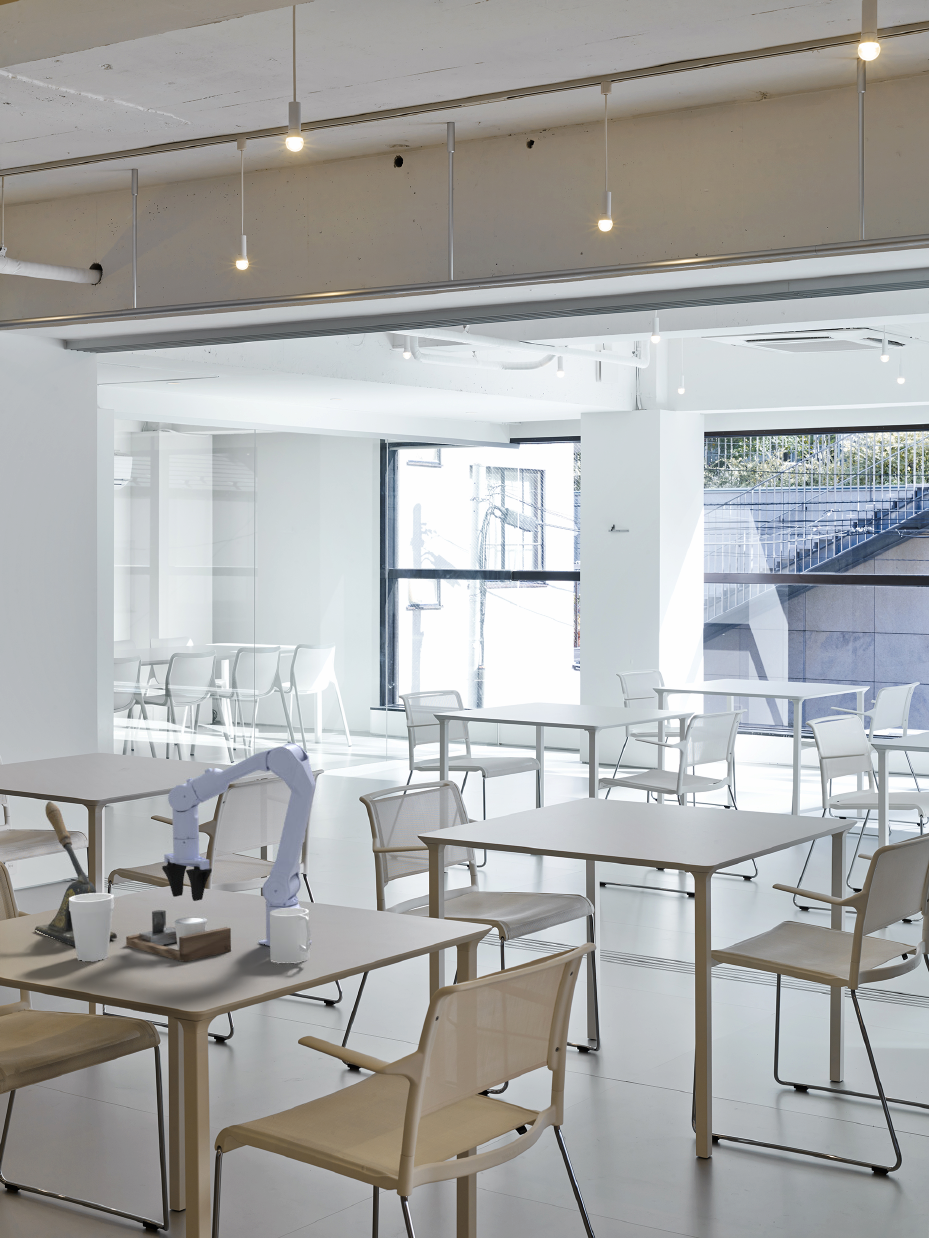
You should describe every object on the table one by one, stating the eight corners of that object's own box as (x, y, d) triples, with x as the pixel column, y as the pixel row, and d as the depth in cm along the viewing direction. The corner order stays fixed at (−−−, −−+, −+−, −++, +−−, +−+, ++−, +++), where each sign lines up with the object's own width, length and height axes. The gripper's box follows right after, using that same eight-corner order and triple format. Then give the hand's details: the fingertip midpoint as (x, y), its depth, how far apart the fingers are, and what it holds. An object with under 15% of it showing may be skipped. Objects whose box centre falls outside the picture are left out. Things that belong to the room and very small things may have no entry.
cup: (293, 969, 289) (292, 920, 289) (263, 958, 298) (262, 911, 298) (326, 962, 294) (326, 914, 294) (295, 952, 303) (295, 905, 303)
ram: (182, 940, 314) (181, 910, 314) (150, 947, 309) (150, 916, 309) (170, 937, 318) (170, 907, 317) (139, 944, 312) (139, 913, 312)
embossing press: (72, 949, 310) (69, 813, 310) (31, 930, 328) (29, 802, 328) (118, 941, 317) (116, 808, 316) (76, 923, 335) (74, 798, 335)
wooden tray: (230, 950, 305) (230, 928, 305) (183, 961, 296) (183, 938, 296) (172, 935, 320) (172, 913, 320) (126, 945, 312) (125, 923, 312)
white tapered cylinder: (200, 956, 301) (199, 923, 301) (170, 955, 302) (169, 922, 302) (212, 948, 308) (211, 916, 308) (182, 947, 309) (182, 915, 309)
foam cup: (74, 965, 295) (73, 903, 295) (65, 956, 303) (64, 895, 303) (119, 959, 299) (118, 898, 299) (109, 950, 307) (108, 891, 307)
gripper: (152, 836, 317) (153, 896, 317) (190, 842, 307) (191, 904, 307) (178, 832, 322) (180, 891, 322) (216, 838, 312) (218, 899, 312)
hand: (187, 897), depth 315 cm, fingers open, 7 cm apart
